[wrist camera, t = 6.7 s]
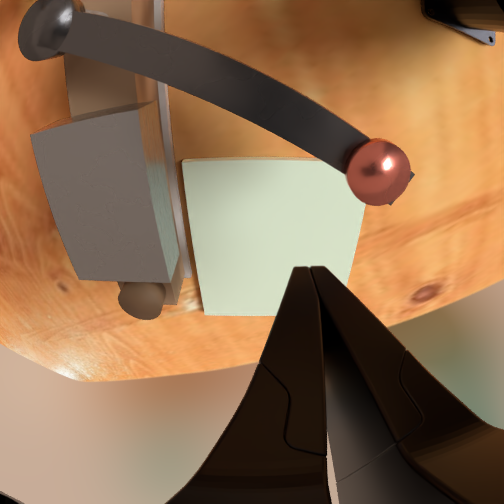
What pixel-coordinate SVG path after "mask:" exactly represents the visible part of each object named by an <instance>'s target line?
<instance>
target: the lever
mask: <svg viewBox="0 0 504 504" xmlns="http://www.w3.org/2000/svg"><path fill="white" fill-rule="evenodd" d="M18 44H19V48H20V51H21V53H22V54H23V56H24V57H25V58H27V59H28V60H31V61H41V60H46V59H52V58H57V57H60V56H62V55H64V54H65V53H69V54H73V55H77V56H81V57H85V58H88V59H92V60H96V61H99V62H102V63H106V64H109V65H112V66H116V67H119V68H122V69H125V70H128V71H131V72H134V73H137V74H140V75H143V76H145V77H148V78H151V79H154V80H156V81H159V82H162V83H164V84H167V85H169V86H172V87H175V88H177V89H180V90H182V91H184V92H187V93H189V94H192V95H194V96H196V97H199V98H201V99H203V100H206V101H208V102H210V103H212V104H215V105H217V106H219V107H221V108H223V109H226V110H228V111H230V112H232V113H234V114H236V115H238V116H240V117H242V118H245V119H247V120H249V121H251V122H253V123H255V124H257V125H259V126H260V127H262V128H264V129H266V130H268V131H270V132H272V133H274V134H276V135H278V136H280V137H281V138H283V139H285V140H287V141H289V142H291V143H292V144H294V145H296V146H298V147H299V148H301V149H303V150H305V151H306V152H308V153H310V154H312V155H313V156H315V157H317V158H318V159H320V160H322V161H323V162H325V163H327V164H328V165H330V166H332V167H333V168H335V169H337V170H338V171H340V172H341V173H343V174H345V178H346V182H347V184H348V186H349V188H350V189H351V191H352V192H353V194H354V195H355V197H356V198H357V199H359V200H360V201H361V202H363V203H365V204H368V205H373V206H380V205H385V204H389V205H392V203H393V202H394V201H395V200H396V199H397V198H398V197H399V196H400V195H401V194H402V193H403V192H404V190H405V189H406V187H407V185H408V183H409V182H410V180H411V179H412V178H413V176H414V175H415V174H414V173H413V172H412V171H411V169H410V163H409V160H408V158H407V156H406V154H405V153H404V152H403V151H402V150H401V149H400V148H399V147H397V146H396V145H395V144H393V143H392V142H390V141H388V140H385V139H380V138H375V139H370V138H369V137H368V136H366V135H365V134H363V133H362V132H361V131H359V130H358V129H356V128H355V127H354V126H352V125H351V124H349V123H348V122H346V121H345V120H343V119H342V118H340V117H339V116H337V115H336V114H334V113H333V112H331V111H329V110H328V109H326V108H325V107H323V106H322V105H320V104H318V103H317V102H315V101H313V100H312V99H310V98H308V97H307V96H305V95H303V94H302V93H300V92H298V91H296V90H295V89H293V88H291V87H289V86H287V85H286V84H284V83H282V82H280V81H278V80H276V79H274V78H272V77H271V76H269V75H267V74H265V73H263V72H261V71H259V70H257V69H255V68H253V67H251V66H248V65H246V64H244V63H242V62H240V61H238V60H236V59H233V58H231V57H229V56H227V55H224V54H222V53H220V52H217V51H215V50H212V49H210V48H207V47H205V46H202V45H200V44H197V43H195V42H192V41H189V40H187V39H184V38H181V37H178V36H175V35H172V34H169V33H166V32H163V31H160V30H157V29H154V28H150V27H147V26H143V25H140V24H136V23H132V22H129V21H125V20H121V19H116V18H112V17H108V16H103V15H98V14H93V13H87V12H86V10H85V7H84V4H83V3H82V1H81V0H38V1H36V2H35V3H34V4H33V5H32V6H31V7H30V9H29V10H28V11H27V13H26V14H25V16H24V18H23V20H22V22H21V25H20V28H19V34H18Z"/></svg>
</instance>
